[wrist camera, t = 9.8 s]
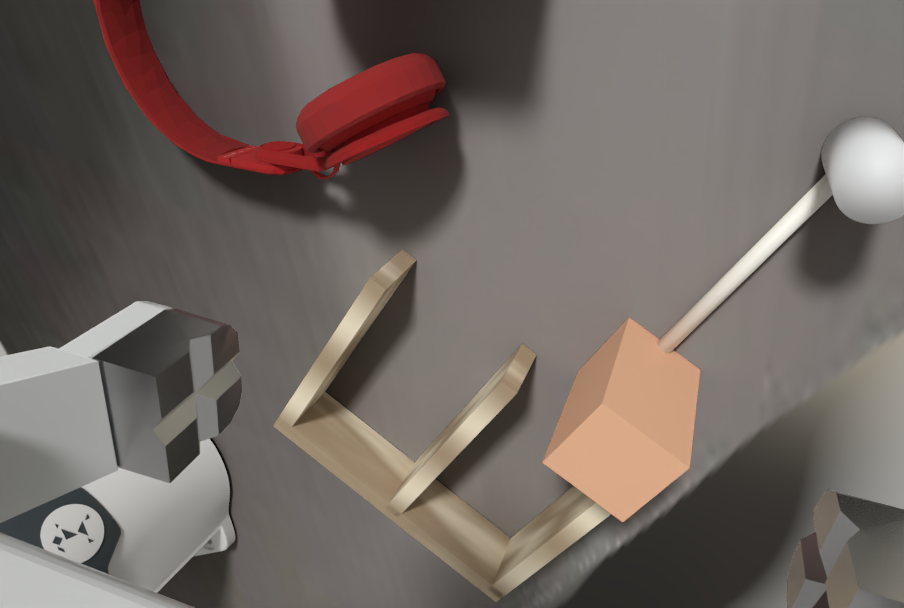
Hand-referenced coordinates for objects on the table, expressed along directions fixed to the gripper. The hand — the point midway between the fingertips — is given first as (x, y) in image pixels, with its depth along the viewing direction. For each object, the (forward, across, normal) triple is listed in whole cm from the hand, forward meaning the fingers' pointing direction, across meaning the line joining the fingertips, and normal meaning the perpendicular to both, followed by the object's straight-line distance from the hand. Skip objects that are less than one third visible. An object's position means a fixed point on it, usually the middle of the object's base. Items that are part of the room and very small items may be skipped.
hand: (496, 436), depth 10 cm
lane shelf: (+26, +6, +20) cm, 33 cm away
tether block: (+25, -6, +8) cm, 27 cm away
